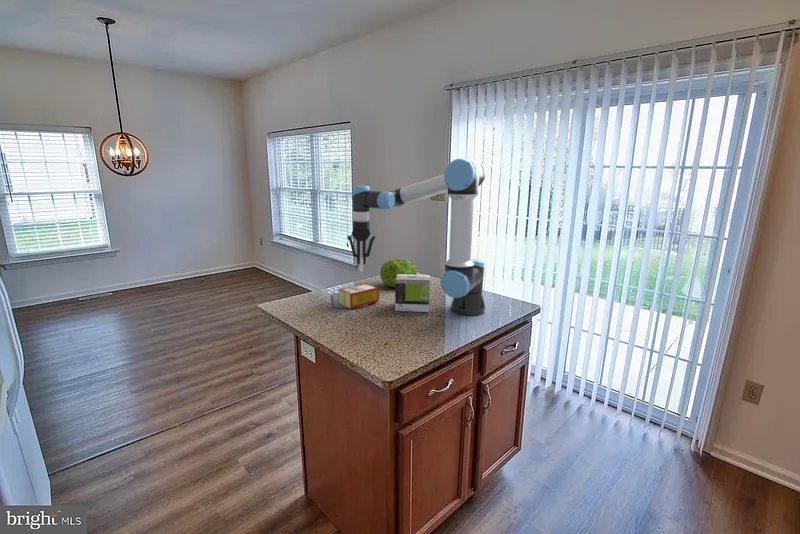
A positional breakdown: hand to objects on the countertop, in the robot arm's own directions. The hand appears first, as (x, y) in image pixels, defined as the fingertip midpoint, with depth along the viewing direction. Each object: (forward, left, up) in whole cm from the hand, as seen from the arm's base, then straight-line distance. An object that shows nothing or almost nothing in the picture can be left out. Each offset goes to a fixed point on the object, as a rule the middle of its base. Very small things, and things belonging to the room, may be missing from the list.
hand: (361, 271), depth 183 cm
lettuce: (+21, -23, -14) cm, 34 cm away
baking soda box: (-2, -5, -10) cm, 11 cm away
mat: (0, +6, -14) cm, 15 cm away
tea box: (-15, -21, -14) cm, 30 cm away
